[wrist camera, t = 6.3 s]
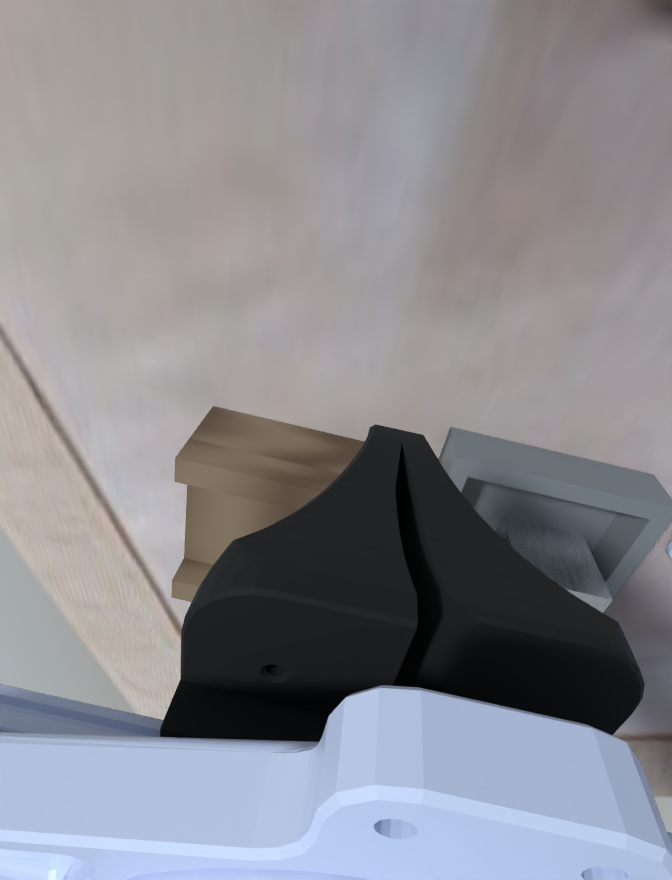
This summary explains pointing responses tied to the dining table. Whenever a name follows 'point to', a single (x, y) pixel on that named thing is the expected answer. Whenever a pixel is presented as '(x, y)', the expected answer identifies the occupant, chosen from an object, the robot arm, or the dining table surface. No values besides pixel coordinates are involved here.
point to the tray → (562, 497)
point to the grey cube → (559, 558)
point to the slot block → (247, 482)
